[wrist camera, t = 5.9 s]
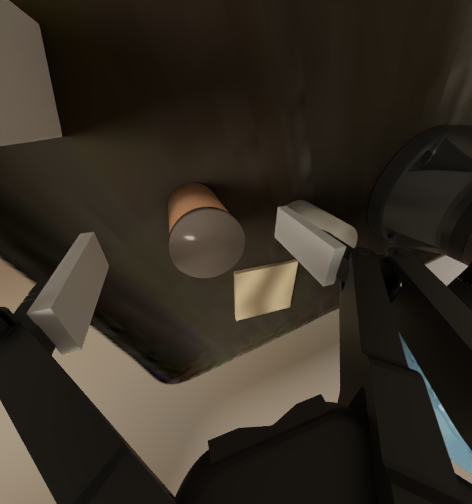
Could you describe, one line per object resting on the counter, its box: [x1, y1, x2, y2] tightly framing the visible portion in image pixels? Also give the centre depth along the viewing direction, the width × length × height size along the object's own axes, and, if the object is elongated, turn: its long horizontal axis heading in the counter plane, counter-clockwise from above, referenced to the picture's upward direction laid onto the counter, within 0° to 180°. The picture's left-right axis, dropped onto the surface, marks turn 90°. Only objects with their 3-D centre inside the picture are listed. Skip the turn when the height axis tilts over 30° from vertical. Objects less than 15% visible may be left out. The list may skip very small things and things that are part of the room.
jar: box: [168, 183, 245, 278], centre depth 17 cm, size 5×5×8 cm
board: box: [234, 259, 298, 321], centre depth 30 cm, size 9×9×1 cm
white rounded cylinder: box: [287, 200, 357, 248], centre depth 22 cm, size 5×5×7 cm
